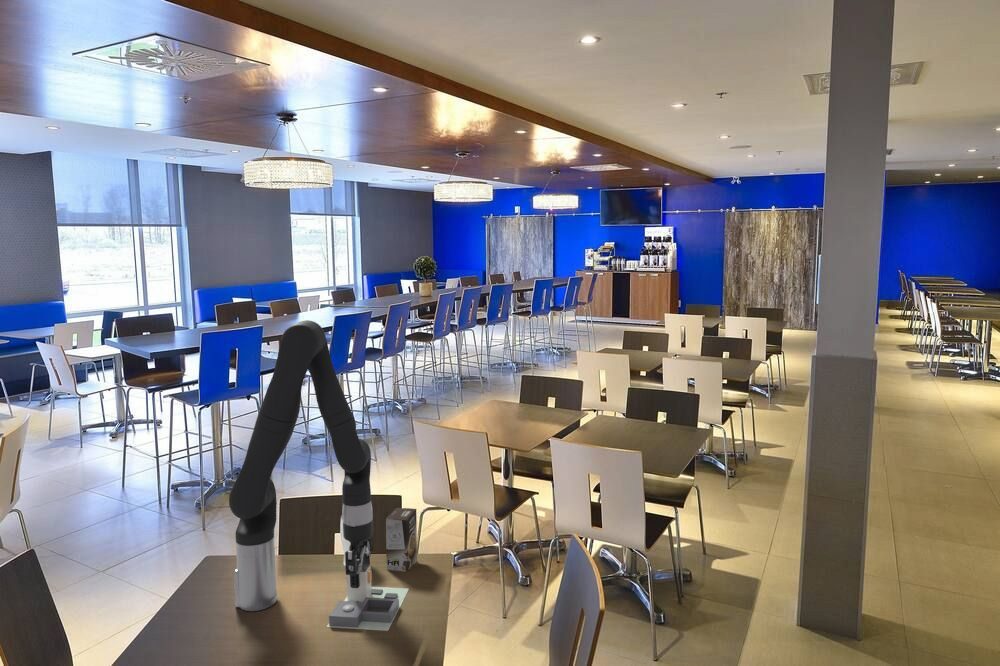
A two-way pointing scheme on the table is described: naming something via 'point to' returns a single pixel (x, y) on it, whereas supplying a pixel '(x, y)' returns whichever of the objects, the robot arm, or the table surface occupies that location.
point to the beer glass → (344, 540)
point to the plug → (361, 584)
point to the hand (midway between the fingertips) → (360, 579)
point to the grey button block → (347, 614)
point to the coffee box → (401, 539)
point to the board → (380, 608)
